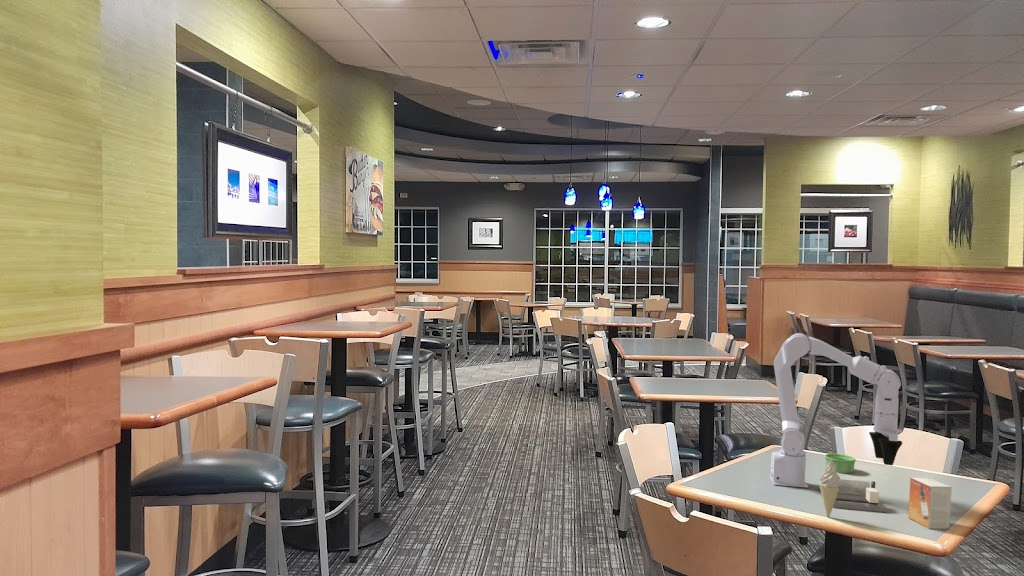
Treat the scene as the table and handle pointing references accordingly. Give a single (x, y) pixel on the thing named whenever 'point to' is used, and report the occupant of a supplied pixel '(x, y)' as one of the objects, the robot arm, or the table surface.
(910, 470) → the table surface
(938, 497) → the small box
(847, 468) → the ramekin
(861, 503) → the console plate
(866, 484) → the door
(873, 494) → the fader knob
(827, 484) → the ice cream cone
